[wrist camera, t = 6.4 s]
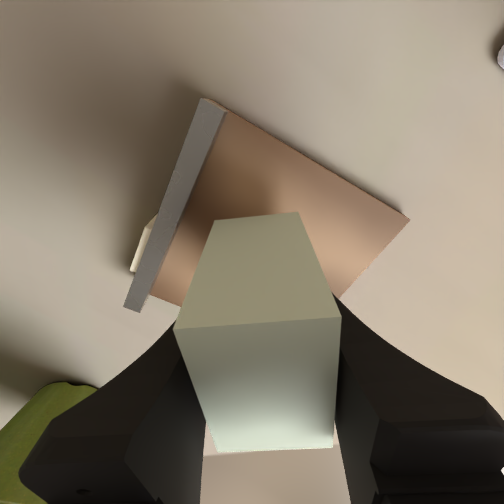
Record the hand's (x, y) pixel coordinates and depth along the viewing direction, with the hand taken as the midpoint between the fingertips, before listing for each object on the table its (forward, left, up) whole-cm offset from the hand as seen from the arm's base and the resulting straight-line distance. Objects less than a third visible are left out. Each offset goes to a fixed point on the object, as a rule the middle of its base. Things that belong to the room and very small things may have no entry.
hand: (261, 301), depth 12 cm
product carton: (0, 0, -2) cm, 2 cm away
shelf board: (0, 0, -5) cm, 5 cm away
